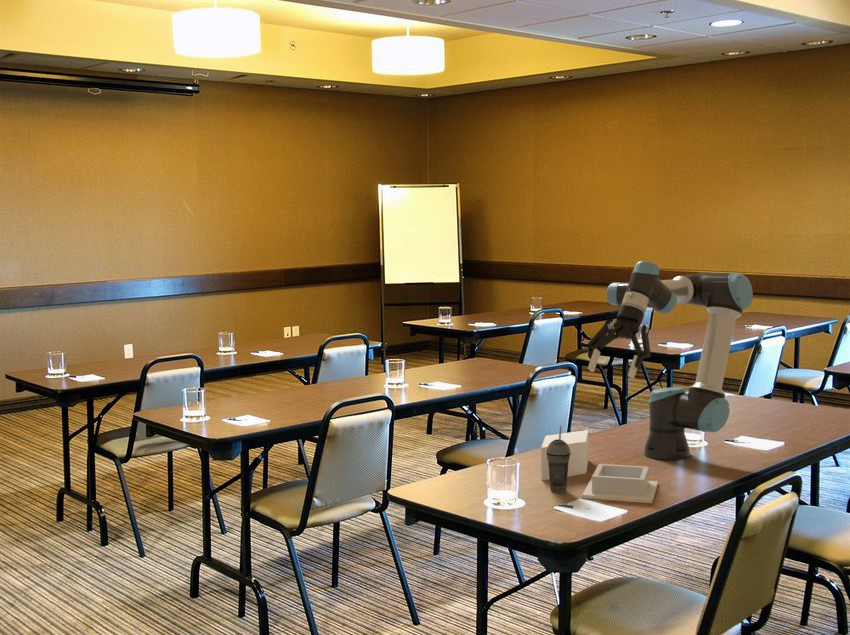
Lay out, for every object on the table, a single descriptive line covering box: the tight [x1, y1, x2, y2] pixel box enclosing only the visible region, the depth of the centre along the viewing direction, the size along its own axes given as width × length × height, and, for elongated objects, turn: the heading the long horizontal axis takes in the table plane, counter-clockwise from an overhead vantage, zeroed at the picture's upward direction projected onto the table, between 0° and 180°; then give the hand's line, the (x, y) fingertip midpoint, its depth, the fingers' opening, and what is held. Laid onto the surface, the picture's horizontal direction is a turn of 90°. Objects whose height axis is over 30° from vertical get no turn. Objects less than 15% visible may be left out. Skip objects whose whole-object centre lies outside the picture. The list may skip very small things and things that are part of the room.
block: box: [540, 429, 589, 481], centre depth 305 cm, size 15×30×11 cm, turn 141°
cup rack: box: [581, 463, 659, 504], centre depth 280 cm, size 20×20×6 cm
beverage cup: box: [546, 425, 571, 494], centre depth 281 cm, size 7×7×20 cm
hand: (610, 373), depth 276 cm, fingers open, 13 cm apart
